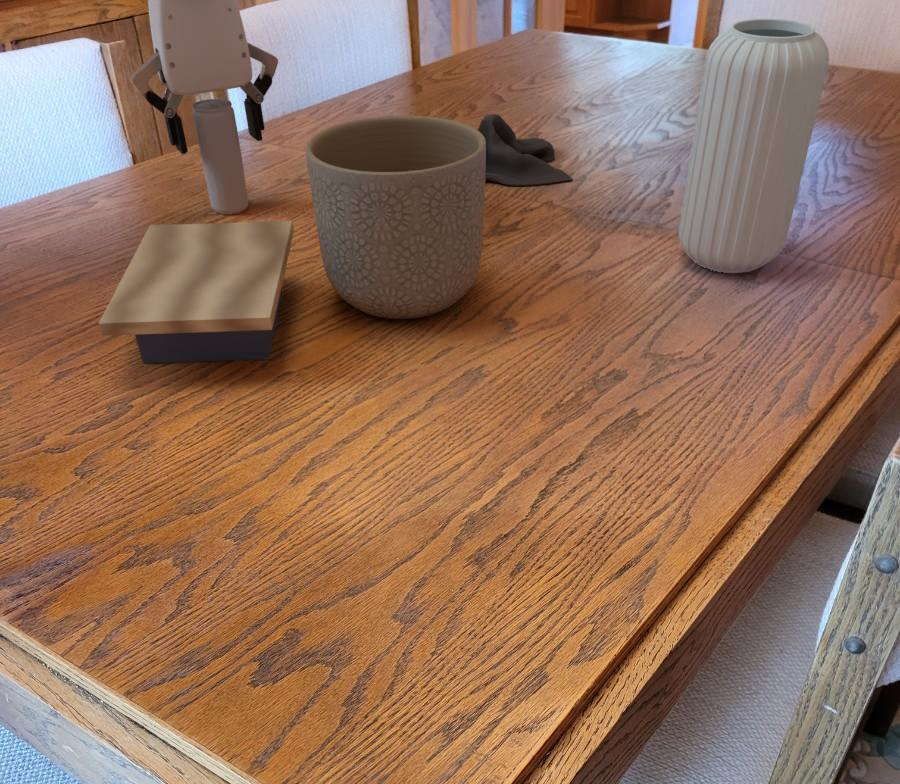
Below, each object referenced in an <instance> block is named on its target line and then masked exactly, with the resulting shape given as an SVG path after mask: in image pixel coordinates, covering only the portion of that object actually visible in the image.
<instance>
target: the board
mask: <svg viewBox="0 0 900 784" xmlns="http://www.w3.org/2000/svg"><path fill="white" fill-rule="evenodd" d="M293 222H294V221H293V220H272V221H268V220H267V221H243V222H241V221H240V222H239V221H238V222H211V223H210V222H209V223H208V222H207V223H180V224H176V223H175V224H153V225H152V224H151V225H149V226H148V227H147V230H146V232H145V234H144V235H143V238H141V239H142V240H141V241H140V243H139V245H138V247H137V249H136V250H135V253H134V255H133V256H132V258H131V260H130V262H129V264H128V266H127V268H126V269H125V272H124V274H123V276H122V277H121V280H120V281H119V284H118V285H117V287H116V289H115V291H114V293H113V295H112V296H111V299H110V300H109V303H108V304H107V306H106V308H105V310H104V312H103V314H102V316H101V318H100V320H99V322H98V326H99V329H100V332H101V335H102V336H133V335H134V336H135V335H137V334H166V333H194V332H223V331H252V330H272V328H273V324H274V319H275V315H276V310H277V306H278V301H279V297H280V292H281V288H282V289H283V282H284V278H285V273H286V270H287V264H288V260H289V256H290V251H291V247H292V242H293V238H294V233H295V230H294V223H293Z"/></svg>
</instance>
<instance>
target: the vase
mask: <svg viewBox="0 0 900 784" xmlns="http://www.w3.org/2000/svg"><path fill="white" fill-rule="evenodd" d="M829 63H830V52H829V48H828V45H827V43H826V41H825V40H824V38H823V37H822V35H820V34H819V33H818V32H816V29H815V27H814V26H812V25H811V24H808V23H804V22H801V21H798V20H789V19H780V18H756V19H755V18H754V19H753V18H752V19H746V20H740V21H737V22H734V23H733V24H732V25H731V26H730V27H729V28H727V29H725V30H724V31H722V32H721V33H719V34H718V36H716V37H715V38H714V40H713V41H712V42H711V44H710V45H709V47H708V48H707V52H706V55H705V60H704V64H703V65H704V66H703V71H702V79H701V85H700V92H699V97H698V105H697V110H696V116H695V123H694V129H693V136H692V142H691V148H690V155H689V160H688V168H687V173H686V180H685V185H684V186H685V187H684V193H683V201H682V204H681V211H680V219H679V224H678V231H677V236H678V237H677V238H678V242H679V245H680V247H681V249H682V251H683V252H684V253H685V254H686V256H688V258H690V259H691V260H692V261H693V262H694V263H695V264H696V263H697V264H696V265H698V266H699V265H700V266H699V267H701V266H702V267H701V268H703V267H704V269H705V268H708V269H710V270H709V271H712V270H713V271H712V272H716V271H717V273H721V272H723V273H722V274H743V273H749V272H753V271H755V270H757V269H760V268H761V267H763V266H765V265H767V264H769V263H770V262H772V261H774V259H776V258H777V257H778V256H779V254H780V253H781V252H782V250H783V249H784V247H785V245H786V242H787V239H788V234H789V230H790V226H791V223H792V218H793V215H794V210H795V206H796V201H797V197H798V193H799V189H800V186H801V181H802V177H803V172H804V169H805V165H806V160H807V156H808V151H809V147H810V143H811V140H812V135H813V131H814V128H815V123H816V119H817V116H818V115H817V114H818V110H819V106H820V102H821V97H822V94H823V90H824V86H825V81H826V77H827V73H828V68H829ZM708 269H707V270H708Z"/></svg>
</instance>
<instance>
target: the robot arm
mask: <svg viewBox="0 0 900 784" xmlns="http://www.w3.org/2000/svg"><path fill="white" fill-rule="evenodd" d="M147 6H148V7H147V8H148V18H149V25H150V33H151V34H150V35H151V40H152V46H153V52H154V53H153V54H152V55H151V56H150V57H149V58H148V59H146V60H145V61H144V62H143V63H142V64H141V66H139V67H138V68H137V69H135V71H134V72H133V73H132V74H131V75H130V76H129V80H130V82H131V83H132V85H133V86H134V87H135V89H136V90H137V91H138V92H139V93H140V94H141V96H142V97H143V98H144V99H145V101H146V102H147V103H148V104H149V105H151V106H152V107H154V108H155V109H156V110H157V111H158V112H160V113H161V114H163V117H164V121H165V125H166V130H167V131H166V132H167V133H168V134H167V135H168V140H169V142H170V145H171V146H175V148H176V149H177V150H178V152H179V153H180V154H181V155H186V154H187V153H188V152H189V151H188V150H189V149H188V145H187V140H186V136H185V131H184V125H183V121H182V117H181V116H179V114H178V108H179V106H180V105H181V101H182V99H183V97H184V96H193V95H199V94H206V93H213V92H219V91H225V90H233V89H237V88H240V90H242V91H243V93H244V94H245V98H244V100H243V104H244V110H245V116H246V124H247V130H248V134H249V136H251V137H252V138H253V139H254V140H255V141H257V142H260V141H263V134H262V131H265V121H264V116H263V115H264V114H263V109H262V104H263V103H264V99H265V96H266V94H267V93H268V91H269V89H270V88H271V86H272V84H273V78H274V76H275V73H276V70H277V68H278V65H279V59H278V58H277V56H275V55H274V54H272V53H270V52H268V51H266V50H264V49H261V48H260V47H258V46H255V45H254V44H252V43H249V42H248V40H247V36H246V35H247V34H246V32H245V31H246V30H245V27H244V23H243V19H242V14H241V12H240V8H239V4H238V1H237V0H147ZM251 59H254V60H256V61H257V62H259V63H261V69H260V73H259V74H258V76H257V77H256V78H255V80H254V82H252V80H253V66H252V60H251ZM156 74H158V78H159V81H160V82H161V84H162V85H163V86H165V89H164V91H163V93H162V96H159V95H158V94H157V93H155V91H154V90H153V89H152V88H151V87H150V85H149V81H150V80H151V79H153V77H154V76H155V75H156Z"/></svg>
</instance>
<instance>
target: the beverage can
mask: <svg viewBox="0 0 900 784" xmlns="http://www.w3.org/2000/svg"><path fill="white" fill-rule="evenodd" d="M192 109H193V111H192V118H193V122H194V128H195V133H196V138H197V144H198V147H199V153H200V157H201V163H202V168H203V173H204V178H205V184H206V189H207V193H208V198H209V204H210V206H211V209H212V210H213V211H214V212H215V213H217V214H218V215H225V216H227V215H237V214H241V213H243V212H245V211H246V210H247V208H248V207H249V204H250V201H249V196H248V190H247V183H246V176H245V169H244V162H243V157H242V150H241V144H240V138H239V132H238V127H237V120H236V114H235V110H234V107H233V106H232V102H231V101H230V100H228V99H223V98H210V99H203V100H199V101H197V102H195V103H193V104H192Z"/></svg>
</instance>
